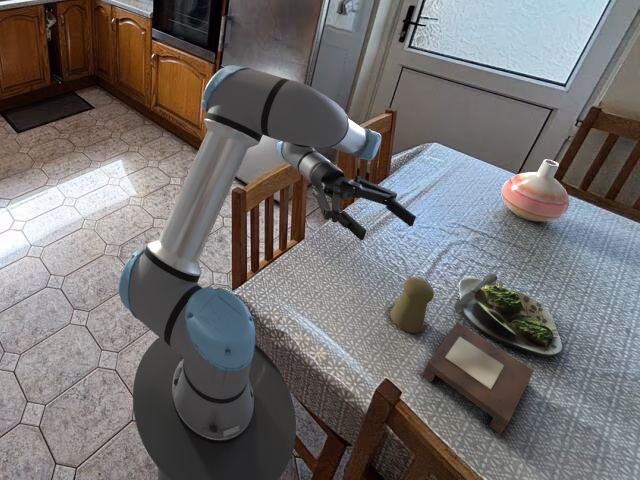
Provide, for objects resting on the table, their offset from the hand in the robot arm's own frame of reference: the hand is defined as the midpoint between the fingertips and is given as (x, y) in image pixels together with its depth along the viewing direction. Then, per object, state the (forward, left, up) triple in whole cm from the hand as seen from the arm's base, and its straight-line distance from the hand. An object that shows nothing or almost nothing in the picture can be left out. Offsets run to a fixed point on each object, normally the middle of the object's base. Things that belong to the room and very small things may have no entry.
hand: (389, 228), depth 90 cm
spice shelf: (+22, -6, -17) cm, 29 cm away
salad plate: (+21, +14, -17) cm, 31 cm away
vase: (+14, +60, -17) cm, 64 cm away
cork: (+9, -3, -17) cm, 20 cm away
